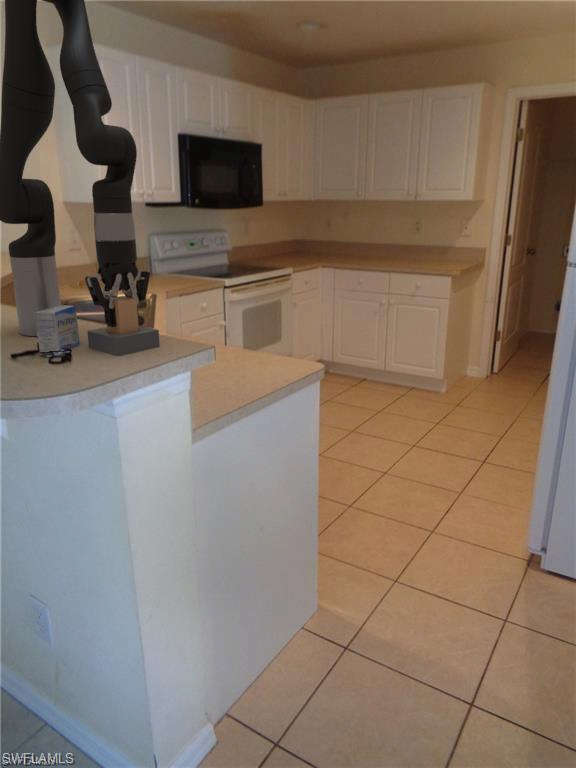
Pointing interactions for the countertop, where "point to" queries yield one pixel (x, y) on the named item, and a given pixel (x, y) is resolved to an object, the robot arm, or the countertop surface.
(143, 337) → the gray square socket block
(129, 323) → the plug
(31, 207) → the robot arm
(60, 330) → the medicine box
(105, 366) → the countertop surface
